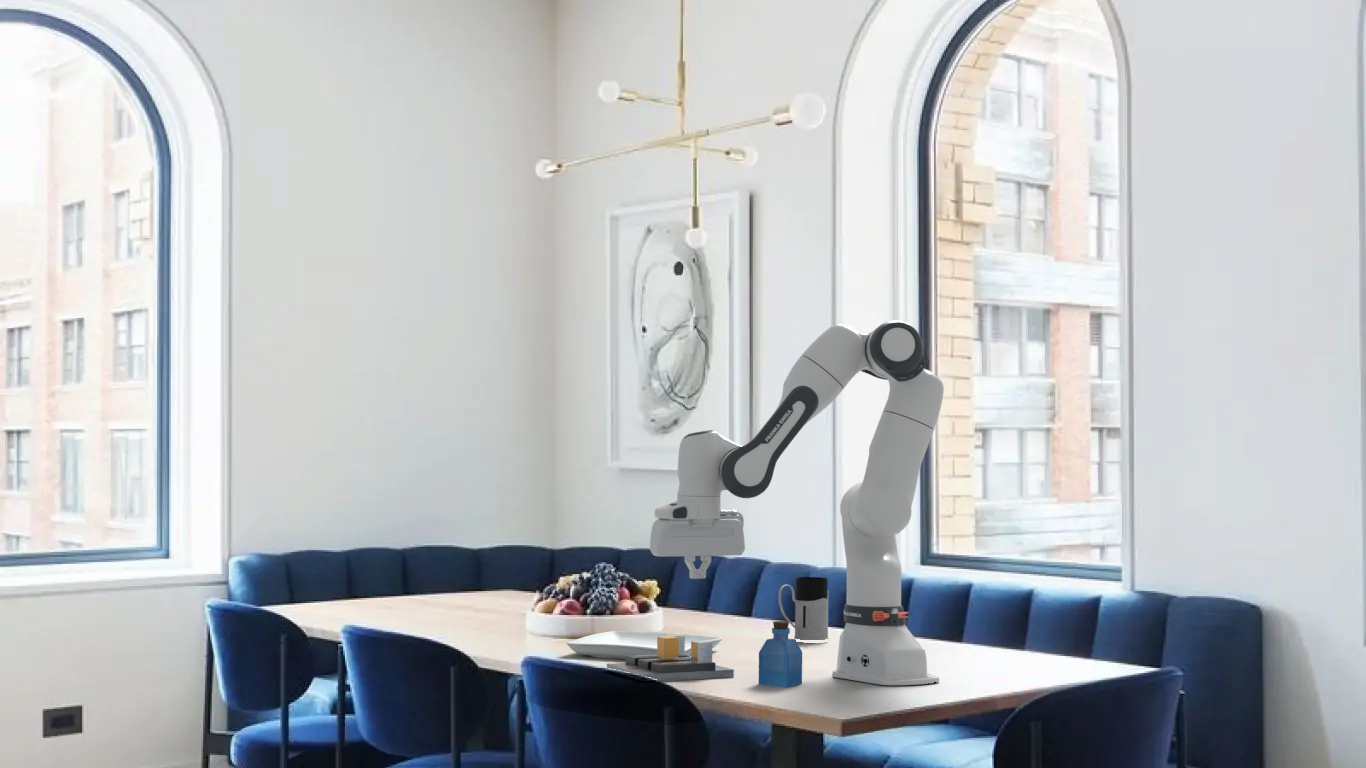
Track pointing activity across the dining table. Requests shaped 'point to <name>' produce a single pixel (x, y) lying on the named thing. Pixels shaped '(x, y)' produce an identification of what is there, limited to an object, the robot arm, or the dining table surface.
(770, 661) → the blue glass bottle
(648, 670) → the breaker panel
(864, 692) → the dining table surface
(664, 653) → the handle
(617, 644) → the square plate
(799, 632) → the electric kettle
